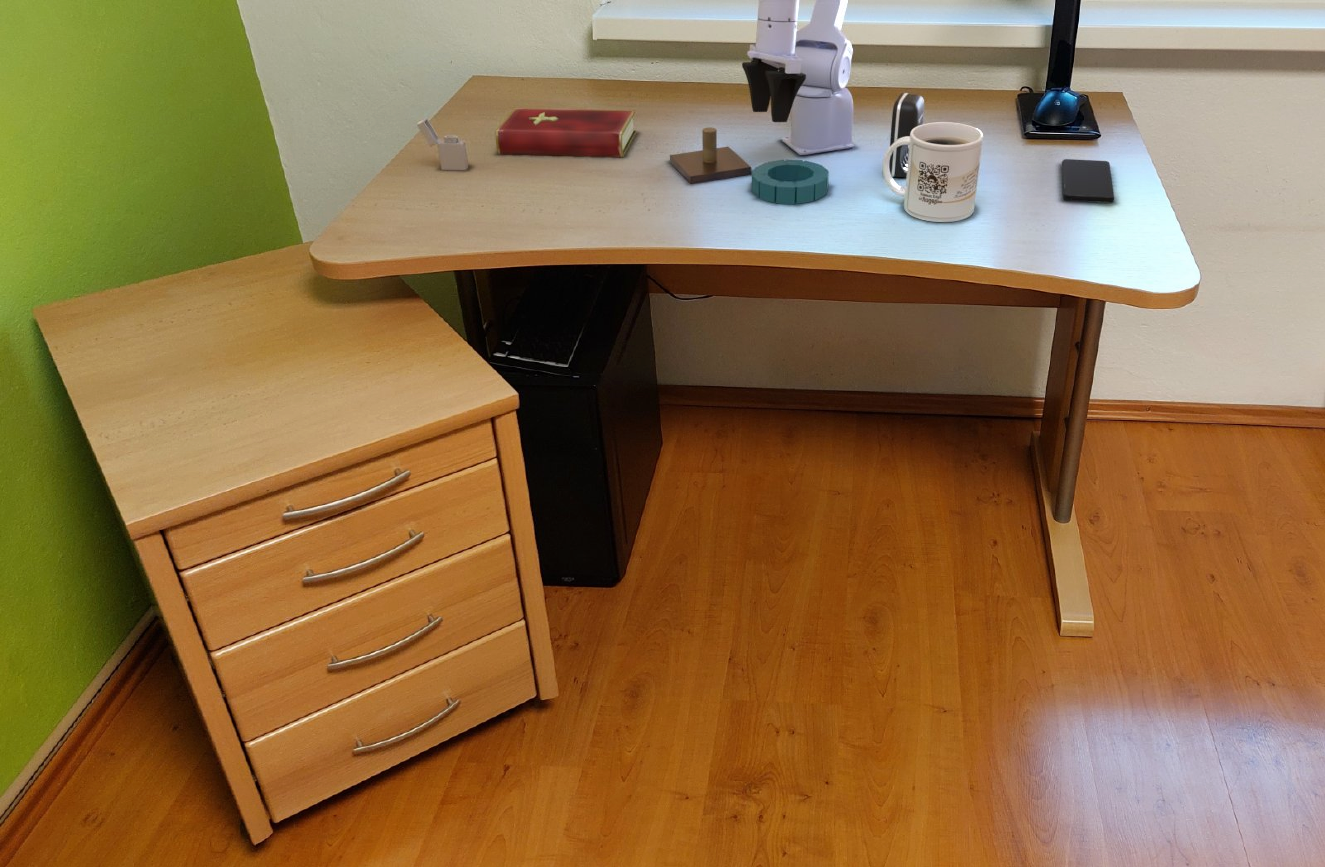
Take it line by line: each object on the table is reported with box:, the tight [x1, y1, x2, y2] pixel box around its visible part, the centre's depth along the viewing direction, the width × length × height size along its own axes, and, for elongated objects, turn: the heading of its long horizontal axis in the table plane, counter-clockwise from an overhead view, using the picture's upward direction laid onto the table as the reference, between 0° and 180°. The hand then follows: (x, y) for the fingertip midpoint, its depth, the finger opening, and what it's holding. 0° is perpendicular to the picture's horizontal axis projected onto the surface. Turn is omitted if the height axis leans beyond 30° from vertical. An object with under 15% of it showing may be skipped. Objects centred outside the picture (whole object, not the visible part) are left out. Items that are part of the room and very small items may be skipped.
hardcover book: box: [494, 107, 637, 158], centre depth 189 cm, size 12×21×4 cm, turn 80°
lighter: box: [416, 117, 469, 171], centre depth 180 cm, size 7×2×8 cm, turn 81°
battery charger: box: [889, 92, 925, 178], centre depth 171 cm, size 7×4×11 cm, turn 159°
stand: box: [669, 127, 752, 185], centre depth 177 cm, size 10×10×6 cm
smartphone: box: [1061, 158, 1115, 203], centre depth 167 cm, size 7×1×15 cm
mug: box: [881, 121, 984, 223], centre depth 160 cm, size 10×12×11 cm
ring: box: [751, 159, 830, 205], centre depth 169 cm, size 11×11×3 cm
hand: (769, 116), depth 168 cm, fingers open, 7 cm apart
